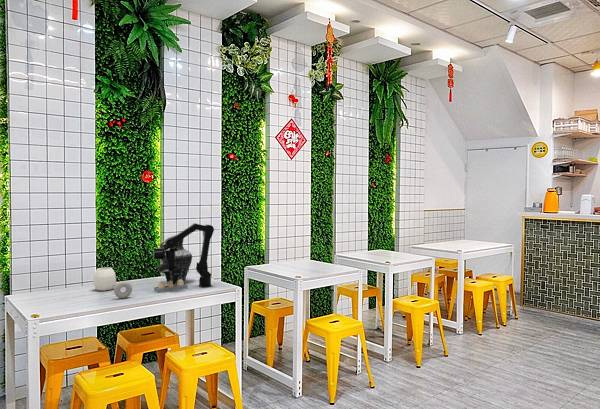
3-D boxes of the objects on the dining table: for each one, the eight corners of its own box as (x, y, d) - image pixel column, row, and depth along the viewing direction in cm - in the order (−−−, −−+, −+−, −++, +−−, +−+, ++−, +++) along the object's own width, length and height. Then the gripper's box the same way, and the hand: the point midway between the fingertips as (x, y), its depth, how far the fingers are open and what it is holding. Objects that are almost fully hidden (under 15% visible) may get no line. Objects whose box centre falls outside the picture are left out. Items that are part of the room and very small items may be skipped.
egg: (172, 287, 306) (172, 279, 306) (175, 288, 303) (175, 280, 303) (166, 288, 304) (166, 280, 304) (169, 289, 301) (169, 281, 301)
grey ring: (114, 300, 277) (114, 282, 276) (113, 298, 280) (113, 281, 279) (133, 297, 282) (132, 280, 281) (131, 296, 285) (131, 279, 284)
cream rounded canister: (97, 293, 296) (97, 270, 296) (90, 289, 306) (90, 268, 305) (119, 289, 305) (119, 268, 304) (111, 286, 315) (111, 265, 314)
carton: (183, 286, 312) (183, 277, 312) (187, 288, 307) (187, 279, 307) (154, 290, 300) (153, 281, 300) (158, 292, 295) (158, 283, 295)
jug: (189, 278, 339) (188, 235, 338) (195, 283, 321) (194, 238, 320) (158, 281, 331) (157, 237, 330) (162, 286, 313) (162, 240, 312)
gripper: (152, 258, 305) (152, 282, 306) (163, 261, 291) (164, 287, 291) (169, 256, 312) (169, 280, 313) (181, 259, 297) (182, 285, 298)
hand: (171, 283), depth 303 cm, fingers open, 9 cm apart
